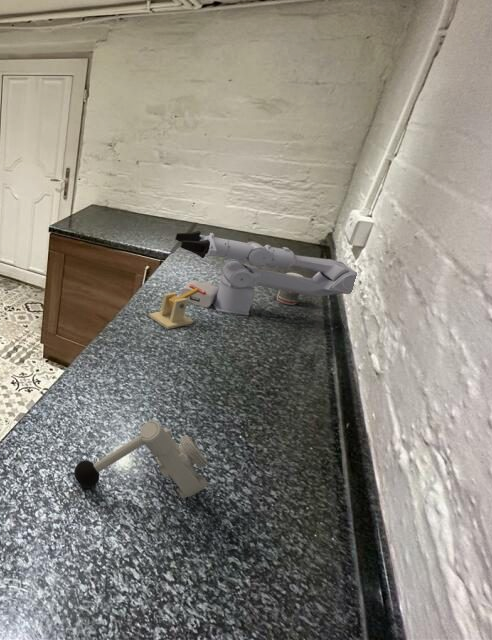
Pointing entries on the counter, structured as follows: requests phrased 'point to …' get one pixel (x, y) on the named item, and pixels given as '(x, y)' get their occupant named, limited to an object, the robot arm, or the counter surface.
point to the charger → (199, 297)
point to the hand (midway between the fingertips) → (178, 240)
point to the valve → (169, 454)
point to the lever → (185, 295)
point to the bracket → (172, 313)
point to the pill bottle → (288, 294)
